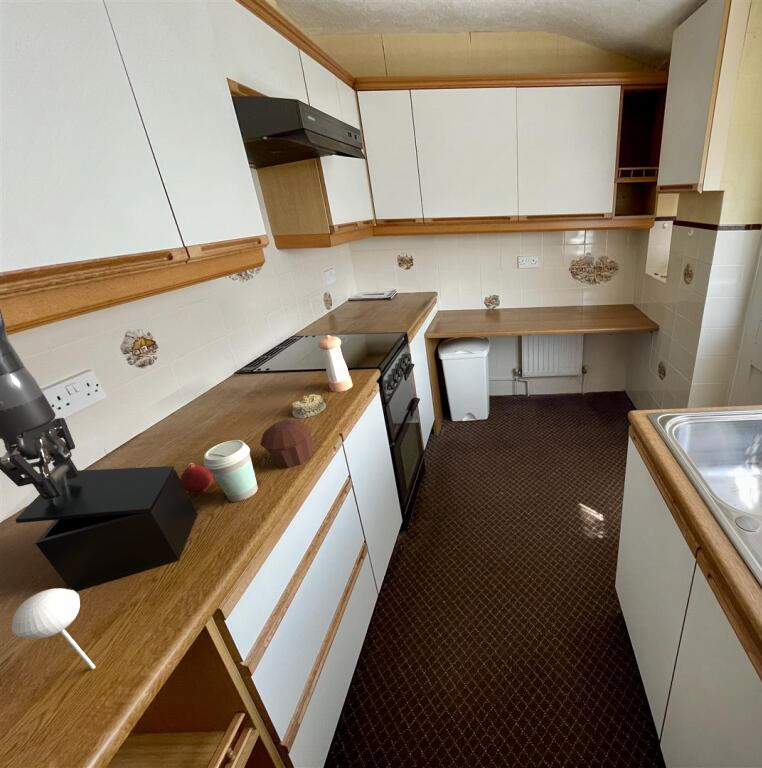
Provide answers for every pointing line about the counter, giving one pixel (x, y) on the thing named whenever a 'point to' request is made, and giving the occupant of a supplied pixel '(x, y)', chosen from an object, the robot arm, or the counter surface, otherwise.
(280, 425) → the muffin
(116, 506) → the bin lid
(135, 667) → the counter surface
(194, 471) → the onion
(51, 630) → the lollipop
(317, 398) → the cake
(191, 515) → the bin
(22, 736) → the counter surface
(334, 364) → the pepper shaker
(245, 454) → the coffee cup
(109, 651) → the counter surface
